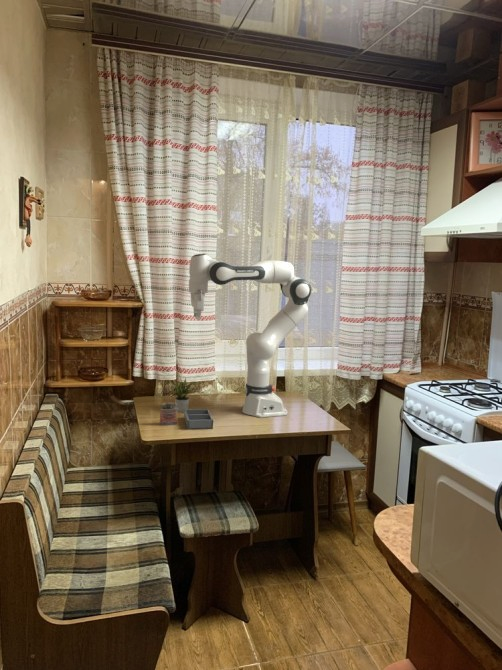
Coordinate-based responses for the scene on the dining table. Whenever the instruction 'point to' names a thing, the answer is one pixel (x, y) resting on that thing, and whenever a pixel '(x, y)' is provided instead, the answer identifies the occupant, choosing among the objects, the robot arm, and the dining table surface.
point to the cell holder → (198, 419)
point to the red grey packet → (168, 414)
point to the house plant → (182, 395)
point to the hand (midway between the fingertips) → (196, 318)
